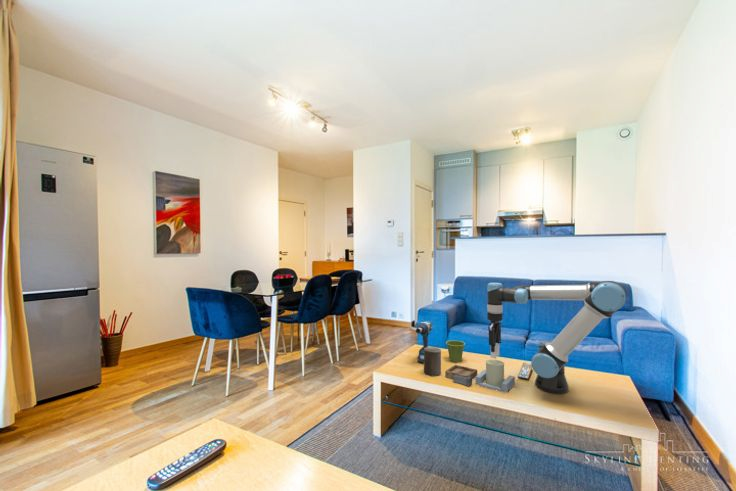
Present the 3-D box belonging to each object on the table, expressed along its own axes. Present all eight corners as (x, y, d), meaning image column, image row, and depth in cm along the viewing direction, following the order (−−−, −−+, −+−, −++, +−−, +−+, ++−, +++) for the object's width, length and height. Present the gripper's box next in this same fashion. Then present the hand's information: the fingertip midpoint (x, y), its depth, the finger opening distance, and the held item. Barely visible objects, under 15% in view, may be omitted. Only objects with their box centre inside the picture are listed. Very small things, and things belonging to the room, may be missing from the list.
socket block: (515, 383, 180) (515, 376, 180) (506, 393, 168) (506, 385, 168) (485, 376, 190) (485, 369, 190) (474, 384, 178) (474, 377, 178)
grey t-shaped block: (472, 383, 179) (472, 377, 179) (469, 386, 176) (469, 379, 176) (456, 379, 184) (456, 372, 184) (452, 381, 181) (452, 375, 181)
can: (489, 379, 186) (489, 357, 186) (506, 383, 180) (506, 361, 180) (482, 384, 179) (482, 361, 179) (500, 389, 173) (500, 365, 173)
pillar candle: (425, 376, 190) (426, 349, 189) (422, 370, 199) (422, 344, 199) (442, 376, 190) (443, 349, 190) (438, 370, 200) (439, 344, 200)
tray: (477, 375, 190) (477, 369, 190) (467, 383, 180) (467, 376, 180) (455, 370, 198) (455, 364, 198) (445, 377, 188) (445, 370, 188)
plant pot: (453, 356, 224) (453, 339, 224) (468, 361, 215) (468, 343, 215) (441, 360, 216) (441, 342, 216) (457, 365, 207) (457, 346, 207)
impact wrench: (411, 366, 205) (411, 325, 205) (423, 355, 225) (423, 318, 225) (424, 368, 201) (424, 326, 201) (435, 357, 221) (435, 319, 221)
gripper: (493, 309, 188) (493, 351, 188) (481, 314, 175) (481, 359, 175) (507, 310, 183) (507, 353, 183) (496, 315, 170) (496, 362, 170)
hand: (495, 356), depth 179 cm, fingers open, 4 cm apart
